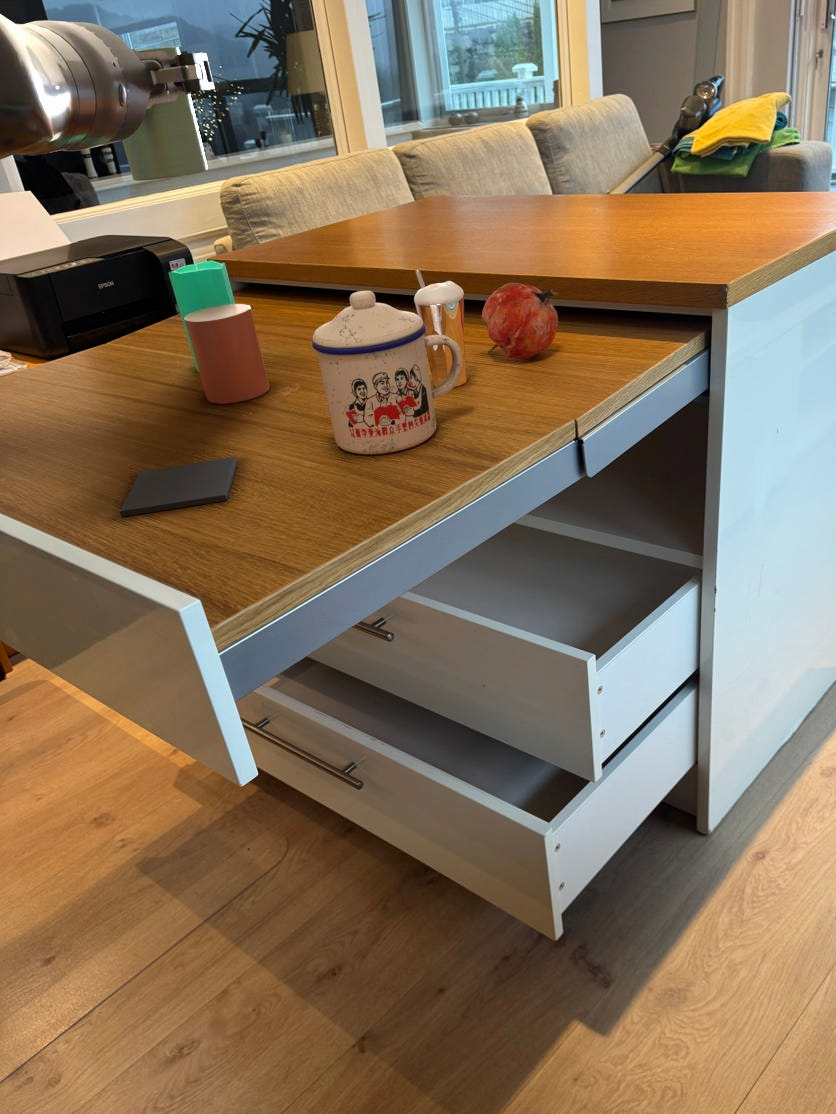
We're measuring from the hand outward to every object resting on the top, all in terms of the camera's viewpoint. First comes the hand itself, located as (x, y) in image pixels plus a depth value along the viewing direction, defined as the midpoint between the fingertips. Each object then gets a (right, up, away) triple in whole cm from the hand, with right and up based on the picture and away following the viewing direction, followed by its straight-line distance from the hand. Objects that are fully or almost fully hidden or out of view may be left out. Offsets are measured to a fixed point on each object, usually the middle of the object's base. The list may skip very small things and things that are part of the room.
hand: (155, 79), depth 76 cm
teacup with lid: (+21, -30, 0) cm, 37 cm away
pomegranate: (+32, -19, +15) cm, 40 cm away
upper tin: (+1, -7, +2) cm, 7 cm away
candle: (-2, -17, +25) cm, 30 cm away
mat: (+4, -35, -5) cm, 36 cm away
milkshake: (+24, -23, +11) cm, 35 cm away
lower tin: (+3, -22, +15) cm, 27 cm away
